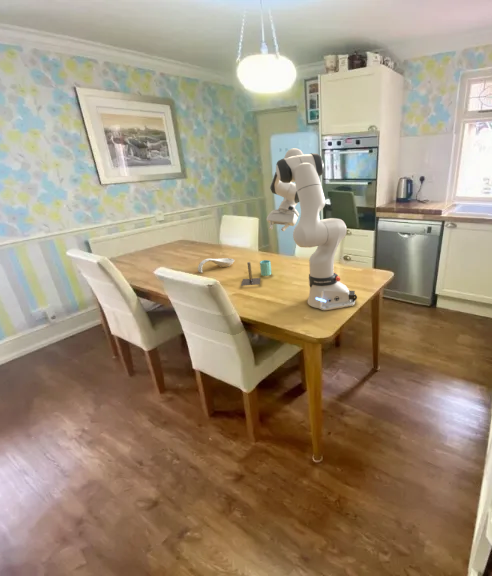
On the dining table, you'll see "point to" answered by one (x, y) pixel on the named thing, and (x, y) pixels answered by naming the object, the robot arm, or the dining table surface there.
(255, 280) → the stand
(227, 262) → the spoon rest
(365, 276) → the dining table surface
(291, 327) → the dining table surface
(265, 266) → the teal hollow cylinder
